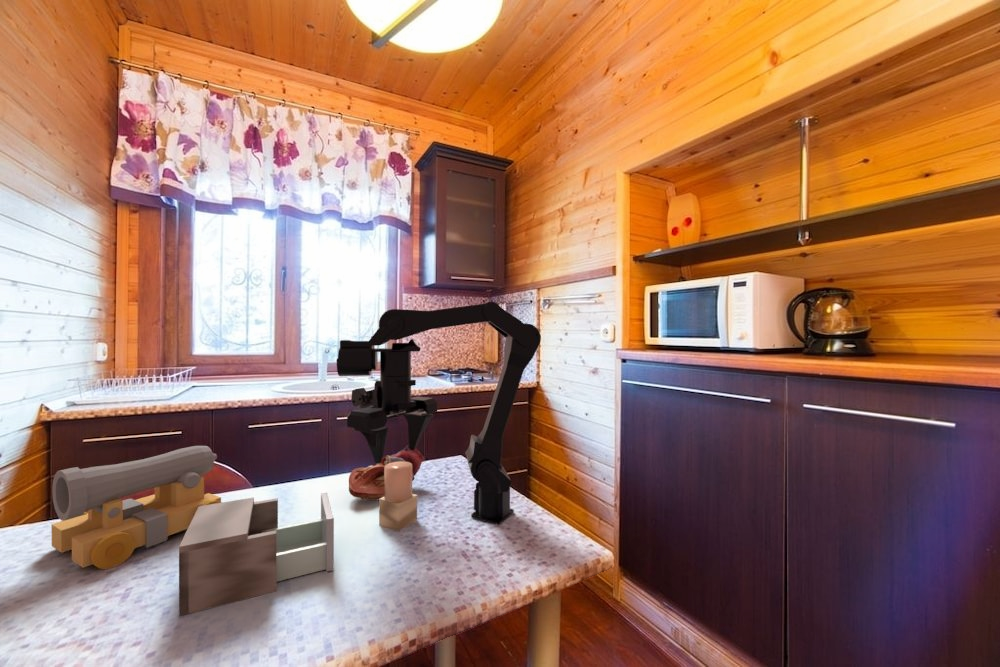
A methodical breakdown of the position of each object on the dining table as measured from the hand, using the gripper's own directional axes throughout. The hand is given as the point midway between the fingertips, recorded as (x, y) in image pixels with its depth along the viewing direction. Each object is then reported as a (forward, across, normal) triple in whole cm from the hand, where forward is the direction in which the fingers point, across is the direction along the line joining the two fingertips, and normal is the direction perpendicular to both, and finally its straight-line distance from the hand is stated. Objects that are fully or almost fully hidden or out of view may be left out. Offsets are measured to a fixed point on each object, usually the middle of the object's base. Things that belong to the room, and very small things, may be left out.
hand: (396, 456), depth 78 cm
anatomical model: (+13, -9, -12) cm, 20 cm away
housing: (+13, +25, -9) cm, 29 cm away
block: (+13, 0, 0) cm, 13 cm away
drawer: (+13, +18, -5) cm, 22 cm away
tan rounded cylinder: (+8, 0, 0) cm, 8 cm away
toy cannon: (+13, +25, -36) cm, 46 cm away
